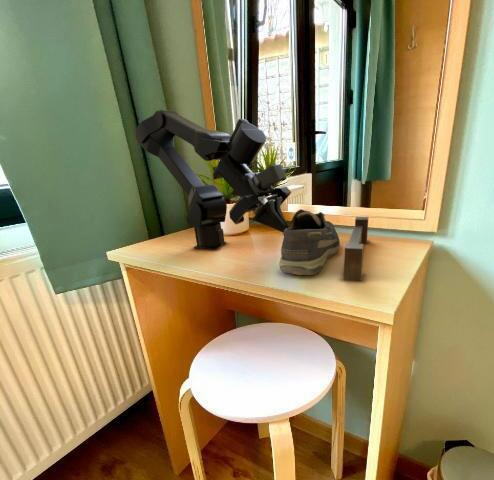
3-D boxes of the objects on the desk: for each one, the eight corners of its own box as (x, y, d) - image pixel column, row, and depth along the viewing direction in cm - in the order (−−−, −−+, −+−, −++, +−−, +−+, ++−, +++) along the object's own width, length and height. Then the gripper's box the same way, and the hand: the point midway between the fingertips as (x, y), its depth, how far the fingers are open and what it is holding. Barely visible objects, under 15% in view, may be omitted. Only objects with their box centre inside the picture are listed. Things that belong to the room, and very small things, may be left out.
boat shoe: (343, 239, 83) (344, 200, 79) (329, 281, 57) (330, 226, 53) (304, 238, 86) (304, 199, 82) (274, 278, 60) (271, 224, 56)
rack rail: (343, 280, 58) (344, 248, 55) (354, 240, 82) (356, 216, 80) (360, 281, 57) (362, 248, 54) (366, 240, 82) (368, 217, 79)
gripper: (235, 151, 55) (292, 215, 55) (282, 150, 70) (326, 200, 70) (207, 194, 61) (258, 252, 61) (255, 184, 77) (296, 230, 76)
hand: (287, 231), depth 67 cm, fingers closed
